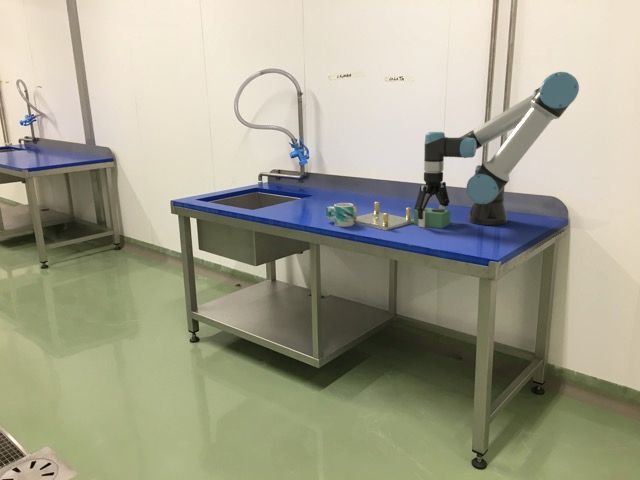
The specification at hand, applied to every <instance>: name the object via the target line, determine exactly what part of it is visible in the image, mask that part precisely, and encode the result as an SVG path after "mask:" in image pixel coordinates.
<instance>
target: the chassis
mask: <svg viewBox="0 0 640 480" xmlns="http://www.w3.org/2000/svg"><path fill="white" fill-rule="evenodd" d="M405 210H406V211H405V216H406V217H404V216H398V215H394V214H389V213H388V212H384V213H383V212H380V201H374V212H370V213H366V214H361V215H358V216H357V206H353V224H357V225H362V226H366V227H369V228H374V229H377V230H383V231H389V230H392V229H393V230H394V229H397V228H400V227H405V226H407V225H410V224H414V218H412V207H406V209H405Z"/></svg>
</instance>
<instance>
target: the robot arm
mask: <svg viewBox="0 0 640 480" xmlns="http://www.w3.org/2000/svg"><path fill="white" fill-rule="evenodd" d="M579 85H580V84H579V82H578V79H577V78H576V77H575V76H574V75H572V74H571V73H569V72H567V71H557V72H554V73H552V74H550V75H547V77H546V78H545V79H544V80H543V81H542V83H541V85H540V87H538V88H536V89H535V90H533V94H531V95H530V96H528V97H526V98H525V99H523V100H522V101H520V102H518V103H517V104H515V105H513V106H511V107H509V108H507V109H505V110H504V111H503V112H501V113H499V114H497V115H495V116H494V117H493V118H491V119H489V120H488V121H487V120H486V121H485V122H484V123H482V124H481V125H479V126H477V127H476V128H474V129H472V130H471V131H469V132H467V133H465V134H464V135H462V136H459V137H449V136H448V137H446V136H445V133H444V132H443V131H428V132H426V133H425V138H424V154H423V155H424V163H423V166H424V167H423V171H424V172H423V181H424V183H425V185H420V186H419V192H418V195H417V199H416V202H415V206H414V211H415V210H417V211H418V219H419V220H418V225H417V226H418V227H421V228H425V227H426V226H425V211H424V209H425V208H427V205H428V203H429V202H430V199H431V198H432V197H433V196H434V195H435V197H436V199H437V200H438V203H439V204H440V205H439V204H438V209H444V210H447V209H446V207H448V206H449V204H450V197H449V194H448V191H447V182H445V181H443V180H444V172H443V171H444V164H445V161H444V160H445V159H444V158H463V159H466V158H467V159H468V158H469V159H470V158H474V157H475V156H476V154H477V153H476V152H477V150H478V149H480V148H482V147H484V146H485V145H488V144H489V143H490V142H492V141H493V140H496V139H498V138H499V137H501V136H503V135H505V134H506V133H508V132H509V131H511V133H510V134H509V135H508V137H506V139H505V141H504V142H503V143H502V144H501V146H500V147H499V148H498V150H497V151H496V153H494V155H493V156H492V158H491V159H490V160H487V161H483V163H482V164H481V165H480V164H479V165H476V167H475V170H474V175H472V176H471V177H469V179H468V181H467V183H466V186H465V187H466V190H465V191H466V194H467V196H468V198H469V199H470V200H471V201H472V202H473V204H472V207H471V209H470V211H469V213H468V221H469V222H470V223H473V224H477V225H484V226H497V225H498V226H499V225H504V224H506V223H507V222H508V215H507V211H506V207H505V203H504V201H505V187H506V185H507V184H508V183H509V182H510V173H512V171H513V170H514V169H515V167H516V166H517V165H518V163H519V162H520V161H521V160H522V158H523V157H524V156H525V154H526V153H527V152H528V151H529V150H530V148H531V147H532V146H533V144H534V143H535V142H536V141H537V140H538V138H539V137H540V136H541V134H542V133H543V132H544V131H545V129H546V128H547V127H548V126H549V124H551V122H552V120H553V121H554V120H557V119H560V117H562V115H563V114H564V112H565V111H566V110H567V108H569V106H570V105H571V104H572V103H573V102H574V101H575V99H576V98H577V96H578V94H579V91H580V89H579V88H580V86H579Z"/></svg>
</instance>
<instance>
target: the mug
mask: <svg viewBox="0 0 640 480" xmlns="http://www.w3.org/2000/svg"><path fill="white" fill-rule="evenodd" d="M333 205H334V206H326V208H325V211H326V220H331V221H332V220H333V221H334V226H336V227H342V228H344V227H345V228H346V227H351V226H354V223H353V207H354V204H353V203H350V202H339V203H338V202H337V203H334V204H333Z"/></svg>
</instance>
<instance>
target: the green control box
mask: <svg viewBox="0 0 640 480" xmlns="http://www.w3.org/2000/svg"><path fill="white" fill-rule="evenodd" d="M424 211H425V227H428V228H429V227H430V228H436V229H443V228H446V227H447V226H450V224H451V209H446V210H444V209H439V207H437V208H436V207H434V208H432V207H425V209H424ZM413 213H414V214H413V215H414V218H413V219H414V223H413V225H414V226H418V220H419V219H418V211H417V210H415V209H414V212H413Z"/></svg>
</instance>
